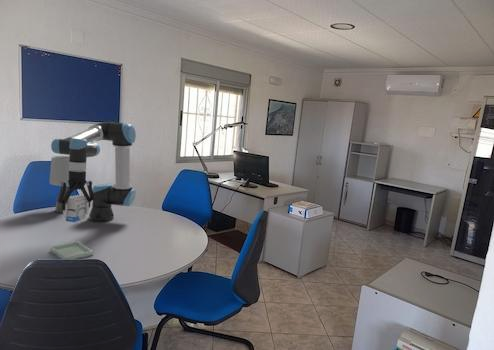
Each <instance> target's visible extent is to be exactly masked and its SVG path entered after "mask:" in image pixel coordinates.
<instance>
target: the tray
mask: <svg viewBox="0 0 494 350" xmlns="http://www.w3.org/2000/svg"><path fill="white" fill-rule="evenodd" d="M50 252H51V253H52V254H54V255H55V256H57V257H58V258H59V259H60V260H61V259H75V260H79V259H85V258H87V257H91V256H93V255H94V251H93V250H92V249H90V248H89V247H87V246H86V245H85V244H83V243H82V242H80V241H75V242H69V243H63V244H59V245H53V246H50Z"/></svg>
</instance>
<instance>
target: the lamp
mask: <svg viewBox="0 0 494 350" xmlns="http://www.w3.org/2000/svg"><path fill="white" fill-rule="evenodd" d="M50 161H51V163H50V170H49V171H50V172H49V183H48V184H49V185H52V186H57V187H58V186H60V187H59V190H61V182H68V180H69V171H70V170H69V155H67V156H66V155H65V156H64V155H63V156H61V155H59V156H58V155H57V156H52V157H51V160H50ZM68 188H69V185H67V187H66V190H65V194H66V192H67V191H68ZM65 194H64V196H65ZM58 196H59V194H58V195H57V198H56V200H57V199H58ZM71 196H72V194H71V195H70V197H71ZM54 209H55V210H54V212H56V213H58V214H63V210H62V209H61V203H59V202H57V201H56V204H55V208H54Z"/></svg>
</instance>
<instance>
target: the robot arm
mask: <svg viewBox="0 0 494 350" xmlns="http://www.w3.org/2000/svg"><path fill="white" fill-rule="evenodd" d="M136 134H137V133H136V130H135V127H134V126H133V125H132V124H130V123H125V122H113V121H103V122H98V123H95V124H93V125H92V124H91V126H89V127H88V129H87V128H86V129H85V130H82V131H80V132H78V133H76V134H73V135H71V136H68V137H66V138H55V139H53V140H52V142H51V145H50V148H51V151H52V152H53V153H54V154H59V155H65V156H66V155H67V156H69V170H70V171H69V180H68V182H61V186H60V187H61V189H59V192H58V195H59V196H58V195H57V198H58V199H57V198H56V203H57V202H59V203H61V209H62V210H63V213H62V217H64V218H66V217H67V203H66V202H67V200H68V198H69V197H70V195H71V196H72V193H73V192H74V191H76V190H81V192H82V194H83V195H82V196H86V215H88V220H89V221H91V222H99V223H101V222H102V223H105V222H110V221H113V220H114V218H115V216H114V215H115V214H114V212H113V208H112V206H120V207H131V206H132V205H133V203H134V201H135V198H136V196H137V195H136V191H137V190H136V189H134V188H133V185H132V183H131V182H130V181H131V179H130V173H131V169H130V168H131V165H130V164H131V162H130V161H131V158H130V150H131V149H130V148H131V147H132V146H133V143H135V142H136V138H137V135H136ZM99 141H109V142H112V146H113V147H114V154H115V155H114V157H115V159H114V160H115V161H114V164H115V166H114V167H115V183H114V185H113V184H112V183H99V184H96V185H93V181H91V180H87V179H86V177H87V171H86V170H87V158H94V157H97V156H98V155H99V154H100V152H101V147H100V145H99V144H98V143H97V142H99ZM67 185H69V186H67ZM85 185H86V186H87V190H86V188H85ZM66 187H69V188H68V191H67V192H66V194H65V190H66ZM87 191H88V192H87ZM64 194H65V196H64ZM91 202H92V203H91ZM91 205H92V206H91ZM91 207H92V208H91ZM89 208H91V210H90V213H89Z"/></svg>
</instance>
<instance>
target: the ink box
mask: <svg viewBox="0 0 494 350" xmlns="http://www.w3.org/2000/svg"><path fill="white" fill-rule="evenodd" d="M86 201H87V200H86V196H84V195H81V194H77V195H73V196H72V195H71V197H69V198H68V200H67V202H66V203H67V217H65V222H71V223H77V222H79V221H82V220H85V219H86V217H87V216H86V215H87V214H86Z"/></svg>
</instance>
